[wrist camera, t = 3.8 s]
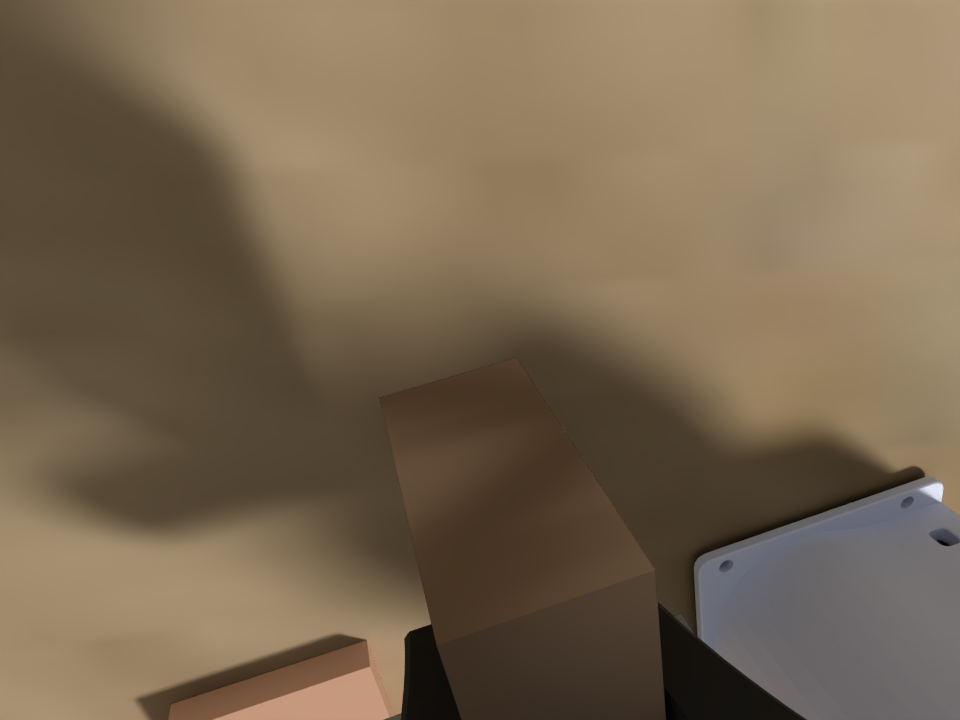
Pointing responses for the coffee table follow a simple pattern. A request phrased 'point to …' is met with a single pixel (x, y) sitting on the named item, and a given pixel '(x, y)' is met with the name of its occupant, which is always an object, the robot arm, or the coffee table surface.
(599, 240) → the coffee table surface
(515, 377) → the plank on grey base
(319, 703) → the tile
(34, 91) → the coffee table surface
